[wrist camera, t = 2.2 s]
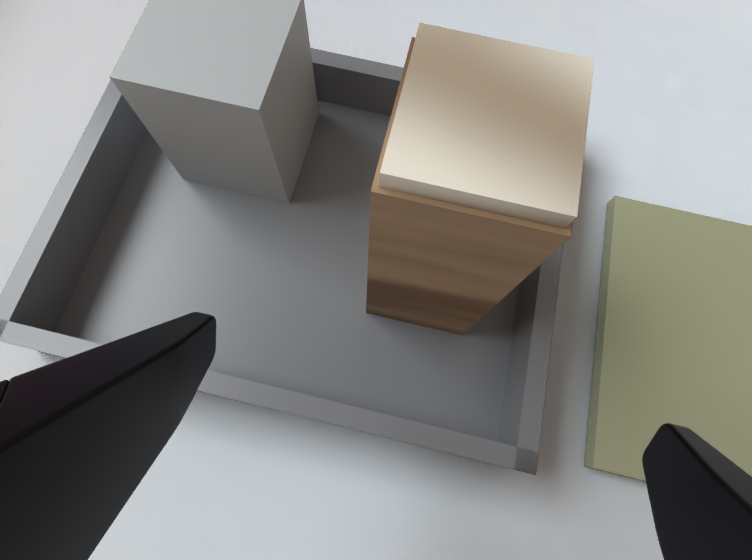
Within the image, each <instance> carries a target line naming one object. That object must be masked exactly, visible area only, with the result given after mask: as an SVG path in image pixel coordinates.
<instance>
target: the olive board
mask: <svg viewBox="0 0 752 560" xmlns="http://www.w3.org/2000/svg"><path fill="white" fill-rule="evenodd" d="M665 423H671V424H675V425H680V426H684V427H687V428H689V429H691V430H692V431H694V432H695V433H696V434H697V435H699V436H700V437H701V438H703V439H704V440H705V441H706V442H708V443H709V444H710V445H712V446H713V447H714V448H715V449H717V450H718V451H719V452H721V453H722V454H723V455H725V456H726V457H727V458H728V459H730V460H731V461H732V462H734V463H735V464H736V465H737V466H739V467H740V468H741V469H743V470H744V471H745V472H746V473H748V474H749V475H750V476H752V226H749V225H744V224H740V223H735V222H731V221H726V220H722V219H717V218H713V217H708V216H704V215H699V214H695V213H690V212H686V211H681V210H677V209H672V208H668V207H663V206H658V205H654V204H649V203H645V202H640V201H636V200H631V199H627V198H622V197H618V196H615V197H614V198H613V199H611V200H610V201H609V202H608V203H607V211H606V223H605V234H604V246H603V257H602V269H601V280H600V292H599V303H598V315H597V326H596V338H595V349H594V361H593V372H592V384H591V395H590V407H589V418H588V430H587V441H586V453H585V464H584V466H586V467H590V468H594V469H598V470H602V471H606V472H610V473H614V474H618V475H622V476H626V477H630V478H634V479H638V480H642V481H646V479H645V475H644V470H643V465H642V457H643V453H644V451H645V449H646V447H647V446H648V444H649V443H650V441H651V440H652V438H653V437H654V435H655V433H656V432H657V430H658V429H659V427H660V426H661V425H663V424H665Z"/></svg>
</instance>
